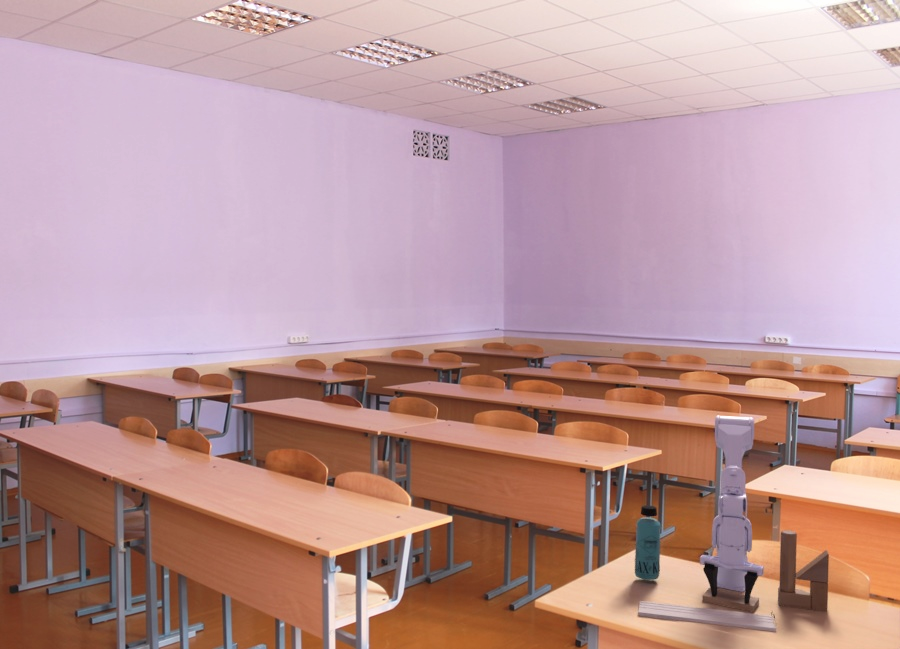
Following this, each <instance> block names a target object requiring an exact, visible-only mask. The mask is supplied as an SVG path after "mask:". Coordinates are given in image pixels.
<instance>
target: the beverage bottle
mask: <svg viewBox="0 0 900 649" xmlns="http://www.w3.org/2000/svg"><path fill="white" fill-rule="evenodd" d="M657 509H658V508H657V507H656V506H654V505H648V504H647V505H642V506H641V508H640V510H641V511H640V515H642V516H643V517H640V518H639V519H638V520H637V521H636V530H635V531H636V534H635V549H634V551H635V553H634V554H635V556H634V569H633V570H634V574H635V576H636V577H637V578H639V579H641V580H646V581H651V580H652V581H653V580H657V579H659V576H660V573H661V572H660V571H661V567H660V563H661V560H660V559H661V522H660V521H659V520H658V519H656V518H655V517H656V516H658V512H657V511H658V510H657ZM644 516H645V517H644ZM653 517H654V518H653Z"/></svg>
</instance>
